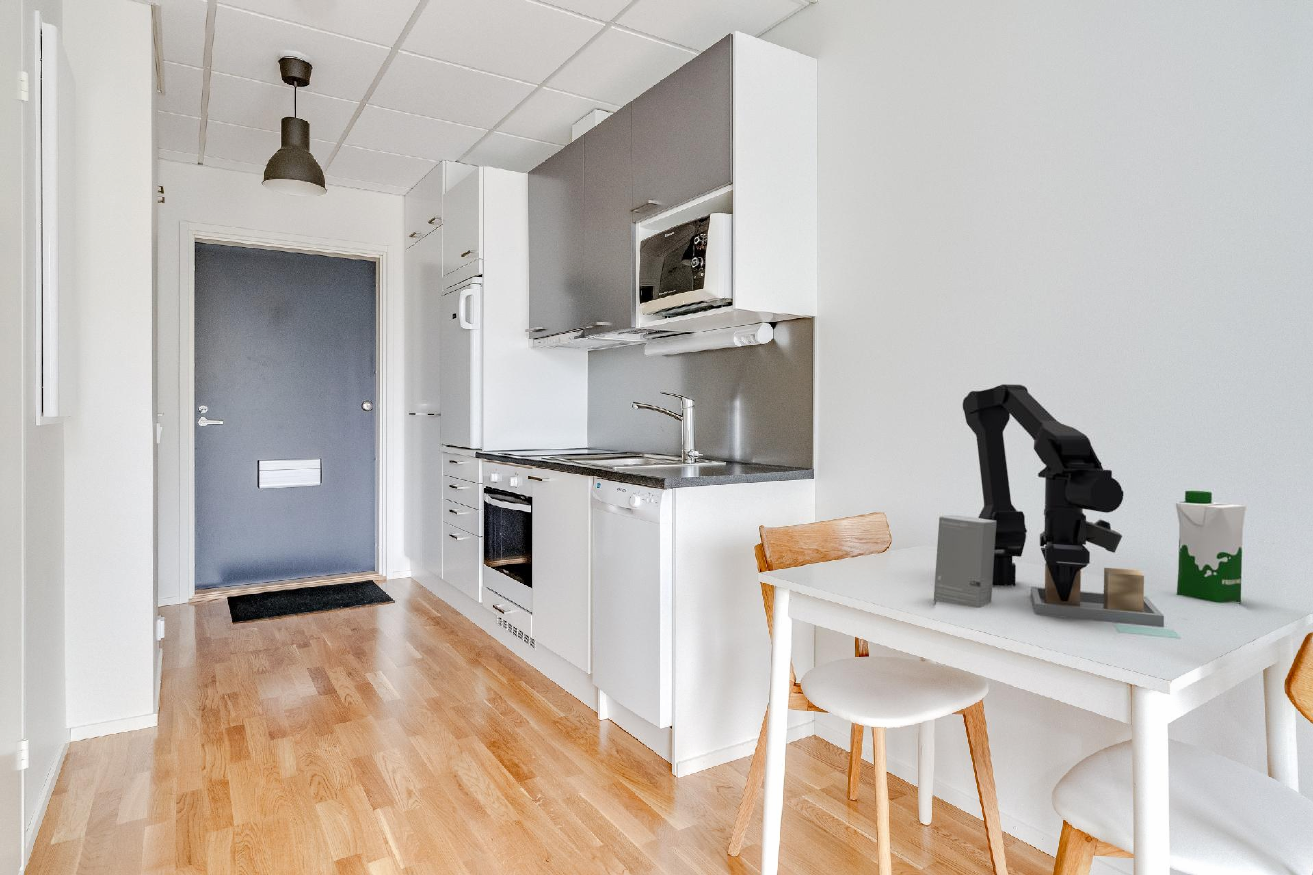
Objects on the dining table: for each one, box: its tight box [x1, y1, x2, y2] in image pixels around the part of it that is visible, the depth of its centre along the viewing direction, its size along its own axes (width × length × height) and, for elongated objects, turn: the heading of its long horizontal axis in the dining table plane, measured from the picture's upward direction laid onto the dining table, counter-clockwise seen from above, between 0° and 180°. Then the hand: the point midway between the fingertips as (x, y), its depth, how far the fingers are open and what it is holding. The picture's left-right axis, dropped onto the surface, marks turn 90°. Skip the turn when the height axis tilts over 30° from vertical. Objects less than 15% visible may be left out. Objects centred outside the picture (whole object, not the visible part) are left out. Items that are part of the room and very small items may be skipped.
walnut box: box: [1044, 562, 1082, 607], centre depth 128 cm, size 5×5×7 cm
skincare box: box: [933, 514, 997, 609], centre depth 132 cm, size 8×7×16 cm
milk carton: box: [1175, 490, 1247, 604], centre depth 136 cm, size 9×9×20 cm
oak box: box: [1103, 567, 1145, 612], centre depth 124 cm, size 5×5×7 cm
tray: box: [1030, 586, 1165, 628], centre depth 126 cm, size 18×14×2 cm
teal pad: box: [1112, 623, 1182, 640], centre depth 113 cm, size 8×5×1 cm, turn 66°
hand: (1062, 595), depth 128 cm, fingers open, 8 cm apart
